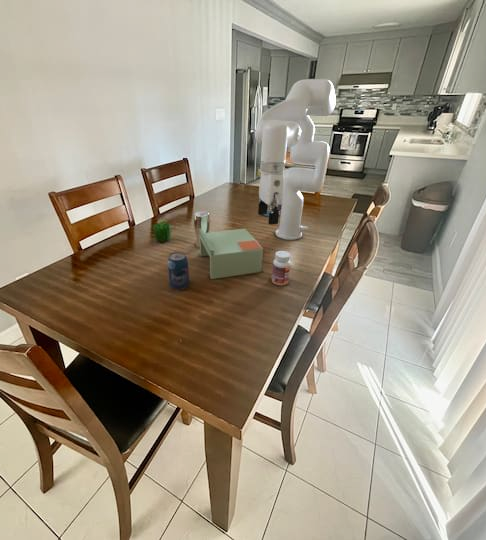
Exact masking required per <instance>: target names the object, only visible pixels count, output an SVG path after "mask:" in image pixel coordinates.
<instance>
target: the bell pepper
mask: <svg viewBox="0 0 486 540" xmlns="http://www.w3.org/2000/svg"><path fill="white" fill-rule="evenodd" d="M152 232H153V236H154V238H155V241H157V242H158V243H164V242H169V241H170V239H171V237H172V226H171V223H168V222H167V220H166V219H165V220H162V221H160V222H159V223H158V222H157V223H154V224H153V226H152Z"/></svg>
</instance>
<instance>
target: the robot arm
mask: <svg viewBox="0 0 486 540" xmlns="http://www.w3.org/2000/svg"><path fill="white" fill-rule="evenodd" d="M335 92H336V91H335V88H334V85H333V83H332V81H331V80H330V79H328V78H309V79H307V78H306V79H300V80H298V81H296V82H295V83H294V84H293V85H292V87H291V88H290V90H289V92H288V94H287V96H286V98H285V99H284V100H282V101H281V102H279V103H277V104H275V105H273V106H271V107H269V108H268V109H267V110H265V111H264V112H263V114H262V115H261V116H260V118H259V120H258V121H257V124H256V126H255V131H254V139H255V141H256V143H257V144H258V145H260V146H261V151H260V166H259V167H260V172H261V177H259V178H260V179H259V186H258V187H259V188H258V208H257V215H259V216H260V215H262V216H263V214H267V210H268V206H269V210H270V212H269V217H268V221H267V222H268V223H267V224H268V225H270V226H271V225H278V224H279V227H278V228H277V229H276V230H275V232H274V233H275V236H276V237H278V238H279V239H282V240H287V241H296V240H299V239H301V238H302V237H303V233H302V232H305V231H309V229H310V228H309V226H304V224H302V225H301V221H302V215H303V208H304V203H305V202H304V196H303V194H302V193H301V192H308V193H319V192H321V191H322V189H323V187H324V182H325V179H326V173H327V168H328V164H329V158H330V145H329V144H328V142H326V141H318V140H314V138H315V132H316V127H315V124H314V122H313V120H312V119H311V118H310V117H329V116H330V115H331V114H332V113H333V111H334V109H335V106H336V93H335ZM287 148H290V152H289V160H290V162H291V163H292V164H294V165H304V166H313V167H314V168H306V167H297V166H296V167H295V166H294V167H290V168H288V169H287V170H285V172H284V167H285V165H286V157H287ZM283 173H284V174H283ZM272 202H273V203H272ZM279 213H281V214H280V215H279Z"/></svg>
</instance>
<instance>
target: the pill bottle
mask: <svg viewBox="0 0 486 540" xmlns="http://www.w3.org/2000/svg"><path fill="white" fill-rule="evenodd" d="M291 265H292V262H291V253H290V252H288V251H287V250H277V251H276V252H275V255H274V259H273V261H272V270H271V282H272V283H273V284H275V285H276V286H286V285H287V284H288V283H289V279H290V274H291V273H290V272H291Z"/></svg>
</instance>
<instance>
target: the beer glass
mask: <svg viewBox="0 0 486 540" xmlns="http://www.w3.org/2000/svg"><path fill="white" fill-rule="evenodd" d="M210 221H211V220H210V213H209V212H208V211H202V210H201V211H196V212H194V213H193V229H194V233H195V238H196V241H195V247H197V248H199V249H200V237H199V229H202V230H203V232H204V233H209V232H210V228H211V227H210V226H211V222H210Z"/></svg>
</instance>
